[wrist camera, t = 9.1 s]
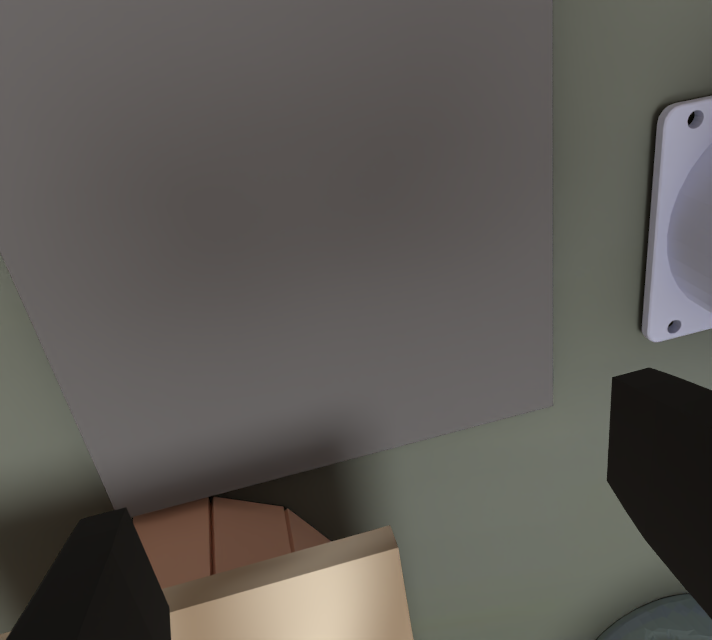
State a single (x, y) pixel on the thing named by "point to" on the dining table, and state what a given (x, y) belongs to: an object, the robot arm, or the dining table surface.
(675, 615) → the dark green cup
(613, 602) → the dining table surface
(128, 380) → the mat
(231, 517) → the bowl
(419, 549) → the dining table surface
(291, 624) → the lid
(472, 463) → the dining table surface
